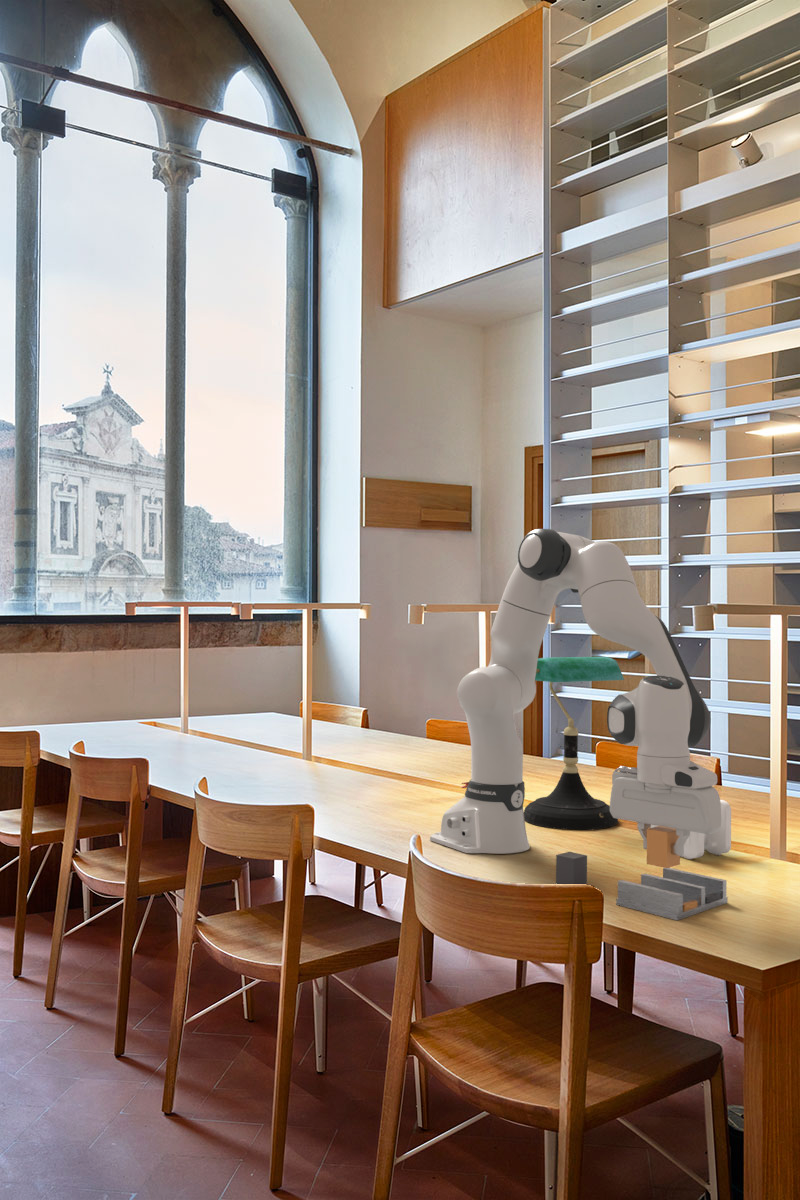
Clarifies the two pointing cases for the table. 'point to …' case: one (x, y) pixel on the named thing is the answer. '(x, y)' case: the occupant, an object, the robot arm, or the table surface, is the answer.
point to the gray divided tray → (673, 894)
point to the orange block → (661, 847)
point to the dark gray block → (571, 868)
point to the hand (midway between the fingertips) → (663, 851)
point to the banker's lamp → (572, 753)
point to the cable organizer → (710, 837)
